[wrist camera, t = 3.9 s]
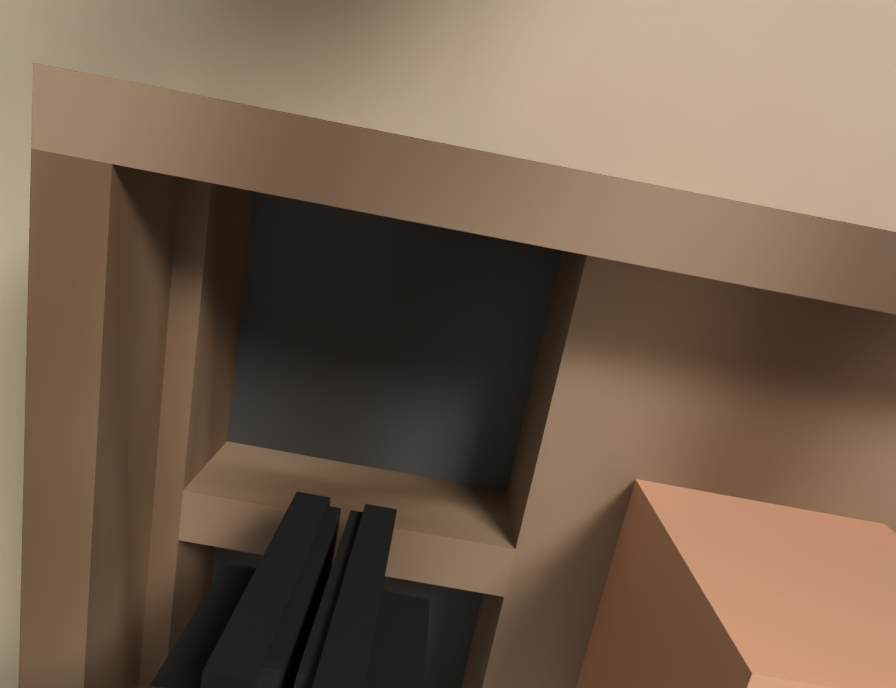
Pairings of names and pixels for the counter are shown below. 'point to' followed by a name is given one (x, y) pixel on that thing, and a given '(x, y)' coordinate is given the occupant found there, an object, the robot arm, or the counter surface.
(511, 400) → the box
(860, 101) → the counter surface
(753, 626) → the block
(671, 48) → the counter surface
